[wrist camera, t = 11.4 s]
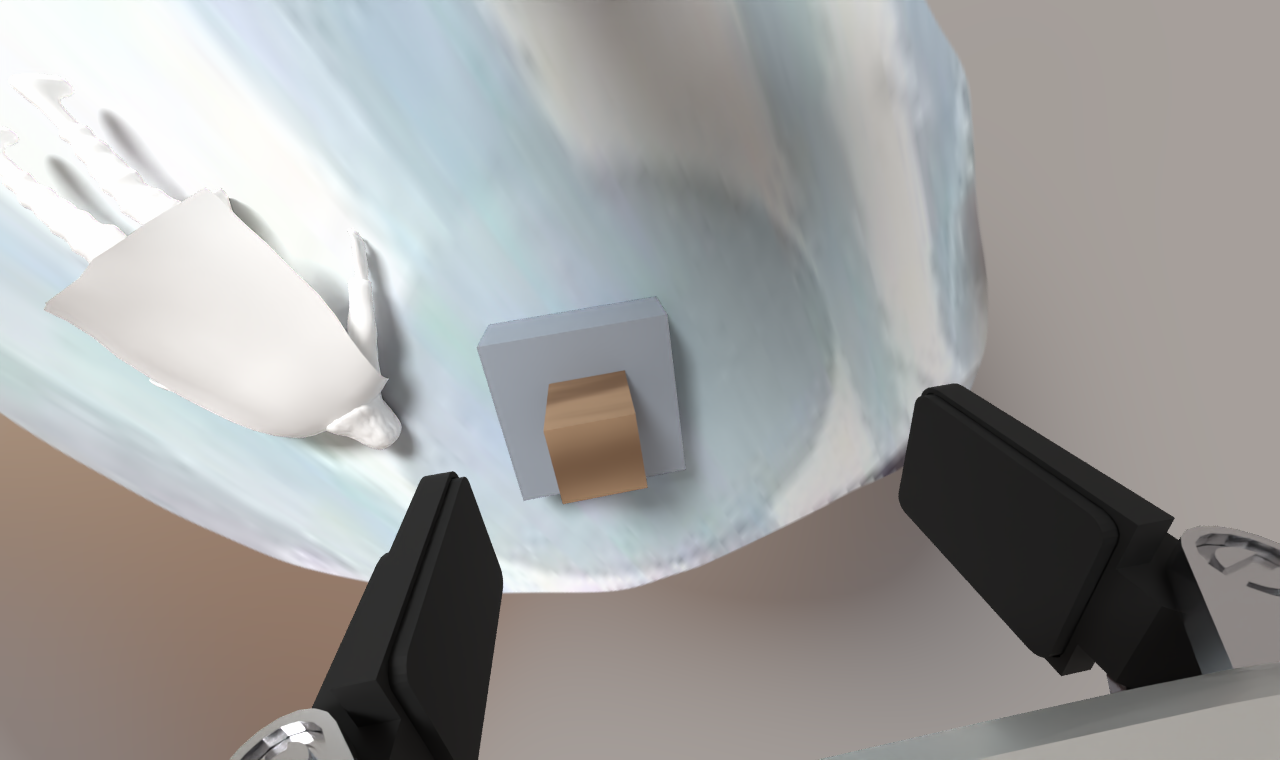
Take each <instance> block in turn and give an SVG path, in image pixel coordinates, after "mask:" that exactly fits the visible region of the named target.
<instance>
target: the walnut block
mask: <svg viewBox="0 0 1280 760" xmlns="http://www.w3.org/2000/svg"><path fill="white" fill-rule="evenodd" d="M543 431H544V435H545V439H546V443H547V446H548V450H549V454H550V458H551V461H552V465H553V469H554V473H555V476H556V480H557V484H558V488H559V491H560V495H561V499H562V503H563V504H566V503H571V502H576V501H582V500H587V499H592V498H597V497H602V496H607V495H612V494H617V493H623V492H628V491H633V490H638V489H643V488H648V487H647V481H646V475H645V469H644V463H643V457H642V451H641V445H640V439H639V433H638V427H637V421H636V415H635V410H634V406H633V402H632V398H631V394H630V390H629V386H628V382H627V378H626V374H625V370H623V371H618V372H612V373H607V374H601V375H596V376H590V377H585V378H579V379H574V380H568V381H562V382H557V383H551V384H549V387H548V396H547V404H546V413H545V421H544V430H543Z"/></svg>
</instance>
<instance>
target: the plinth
mask: <svg viewBox="0 0 1280 760" xmlns="http://www.w3.org/2000/svg"><path fill="white" fill-rule="evenodd" d="M477 350H478V353H479V357H480V360H481V363H482V366H483V370H484V373H485V376H486V379H487V383H488V386H489V389H490V393H491V396H492V399H493V402H494V406H495V409H496V412H497V415H498V419H499V422H500V425H501V428H502V432H503V435H504V438H505V441H506V445H507V448H508V451H509V454H510V458H511V461H512V464H513V467H514V471H515V474H516V477H517V481H518V484H519V487H520V490H521V494H522V497H523V500H524V501H525V500H530V499H535V498H540V497H546V496H551V495H556V494H560V491H559V488H558V484H557V480H556V476H555V473H554V469H553V465H552V461H551V458H550V454H549V450H548V446H547V443H546V439H545V435H544V431H543V430H544V421H545V413H546V404H547V396H548V387H549V384H551V383H557V382H562V381H568V380H574V379H579V378H585V377H590V376H596V375H601V374H607V373H612V372H618V371H623V370H625V374H626V378H627V382H628V386H629V390H630V394H631V398H632V402H633V406H634V410H635V415H636V421H637V427H638V433H639V439H640V445H641V451H642V457H643V463H644V469H645V475H646V477H650V476H655V475H660V474H665V473H671V472H676V471H681V470H686V468H685V459H684V451H683V442H682V434H681V425H680V416H679V408H678V399H677V391H676V382H675V374H674V365H673V357H672V348H671V340H670V331H669V323H668V314H667V313H666V311H665V310H664V308H663V306H662V305H661V303H660V302H659V300H658V299H657V297H656V296H655V297H649V298H643V299H637V300H632V301H626V302H620V303H614V304H608V305H602V306H596V307H590V308H584V309H578V310H573V311H567V312H561V313H555V314H549V315H543V316H537V317H531V318H525V319H520V320H514V321H508V322H502V323H496V324H490V325H489V326H488V327H487V329H486V331H485V333H484V335H483V337H482V338H481V340H480V342H479V344H478V346H477Z"/></svg>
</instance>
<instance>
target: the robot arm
mask: <svg viewBox="0 0 1280 760" xmlns="http://www.w3.org/2000/svg"><path fill="white" fill-rule="evenodd" d="M899 502H900V505H901V507H902V509H903V510H904V512H905V513H906V514H907V515H908V516H909V517H910V518H911V519H912V521H913V522H914V523H915V524H916V525H917V526H918V527H919V528H920V529H921V531H922V532H923V533H924V534H925V535H926V536H927V537H928V538H929V539H930V540H931V541H932V542H933V543H934V545H935V546H936V547H937V548H938V549H939V550H940V551H941V553H942V554H943V555H944V556H945V557H946V558H947V559H948V560H949V561H950V562H951V564H953V566H954V567H955V568H956V569H957V570H958V571H959V572H960V573H961V575H962V576H963V577H964V578H965V579H966V580H967V581H968V582H969V583H970V584H971V586H972V587H973V588H974V589H975V590H976V591H977V592H978V593H979V594H980V596H982V598H983V599H984V600H985V601H986V602H987V603H988V604H989V605H990V606H991V608H992V609H993V610H994V611H995V612H996V613H997V614H998V615H999V616H1000V618H1001V619H1002V620H1003V621H1004V622H1005V623H1006V624H1007V625H1008V626H1009V628H1010V629H1011V630H1012V631H1013V632H1014V633H1015V634H1016V635H1017V636H1018V637H1019V638H1020V640H1022V642H1023V643H1024V644H1025V645H1026V646H1027V647H1028V648H1029V649H1030V650H1031V651H1032V652H1033V653H1034V654H1036V655H1038V656H1040V657H1043V658H1045V659H1046V660H1047V661H1048V662H1049V663H1050V664H1051V666H1052V667H1053V668H1054V669H1055V670H1056V671H1057V672H1058V673H1059V674H1060V675H1061V676H1064V675H1068V674H1073V673H1077V672H1082V671H1086V670H1091V668H1092V666H1093V664H1094V663H1095V662H1096V663H1097V664H1098V665H1099V666H1100V667H1101V668H1102V669H1103V670H1104V671H1105V672H1106V673H1107V679H1108V684H1109V689H1110V694H1108V695H1104V696H1099V697H1095V698H1090V699H1086V700H1081V701H1077V702H1072V703H1068V704H1063V705H1059V706H1054V707H1050V708H1045V709H1040V710H1036V711H1032V712H1027V713H1022V714H1018V715H1013V716H1009V717H1004V718H1000V719H995V720H991V721H986V722H982V723H977V724H973V725H969V726H964V727H960V728H955V729H951V730H946V731H942V732H938V733H933V734H929V735H924V736H920V737H916V738H911V739H907V740H902V741H898V742H894V743H889V744H885V745H880V746H876V747H872V748H867V749H863V750H858V751H854V752H850V753H845V754H842V755H837V756H832V757H828V758H824V759H819V760H1280V544H1279V543H1277V542H1274V541H1272V540H1269V539H1267V538H1264V537H1262V536H1259V535H1255V534H1252V533H1248V532H1245V531H1241V530H1238V529H1232V528H1225V527H1219V526H1197V527H1194V528H1191V529H1187V530H1186V531H1185V532H1184V533H1183V535H1182V536H1181V537H1180V539H1179V540H1178V539H1176V538H1174V537H1173V536H1171V535H1170V534H1168V533H1167V531H1168V529H1169V527H1170V526H1171V524H1172V522H1173V520H1174V517H1173V516H1171V515H1169V514H1168V513H1166V512H1164V511H1163V510H1161V509H1160V508H1158V507H1156V506H1155V505H1153V504H1152V503H1150V502H1148V501H1147V500H1145V499H1144V498H1142V497H1140V496H1139V495H1137V494H1135V493H1134V492H1132V491H1131V490H1129V489H1127V488H1126V487H1124V486H1123V485H1121V484H1119V483H1118V482H1116V481H1115V480H1113V479H1111V478H1110V477H1108V476H1106V475H1105V474H1103V473H1102V472H1100V471H1098V470H1097V469H1095V468H1094V467H1092V466H1090V465H1089V464H1087V463H1086V462H1084V461H1082V460H1081V459H1079V458H1078V457H1076V456H1074V455H1073V454H1071V453H1069V452H1068V451H1066V450H1065V449H1063V448H1061V447H1060V446H1058V445H1057V444H1055V443H1053V442H1052V441H1050V440H1049V439H1047V438H1045V437H1044V436H1042V435H1040V434H1039V433H1037V432H1036V431H1034V430H1032V429H1031V428H1029V427H1028V426H1026V425H1024V424H1023V423H1021V422H1020V421H1018V420H1016V419H1015V418H1013V417H1012V416H1010V415H1008V414H1007V413H1005V412H1004V411H1002V410H1000V409H999V408H997V407H995V406H994V405H992V404H991V403H989V402H987V401H986V400H984V399H983V398H981V397H979V396H978V395H976V394H974V393H973V392H971V391H970V390H968V389H966V388H965V387H963V386H961V385H959V384H948V385H942V386H936V387H931V388H927V389H925V390H924V391H923V393H922V395H921V396H920V397H918V398H917V400H916V402H915V406H914V412H913V417H912V423H911V428H910V434H909V439H908V445H907V450H906V456H905V461H904V467H903V473H902V478H901V483H900V489H899ZM502 591H503V576H502V571H501V568H500V565H499V563H498V560H497V557H496V554H495V552H494V549H493V546H492V543H491V541H490V538H489V535H488V533H487V530H486V527H485V524H484V522H483V519H482V516H481V513H480V511H479V508H478V505H477V502H476V500H475V497H474V494H473V491H472V489H471V486H470V483H469V481H468V479H467V478H466V477H461V478H459V477H458V475H457V474H456V473H455V472H453V471H452V472H447V473H441V474H435V475H430V476H425V477H423V478H422V479H421V481H420V483H419V485H418V487H417V490H416V492H415V494H414V496H413V499H412V501H411V503H410V506H409V508H408V510H407V512H406V515H405V517H404V519H403V522H402V524H401V526H400V529H399V531H398V533H397V535H396V538H395V540H394V542H393V545H392V547H391V549H390V551H389V553H386V554H385V555H383V556H382V557H381V558H380V560H379V562H378V563H377V565H376V567H375V569H374V572H373V574H372V576H371V578H370V580H369V583H368V585H367V587H366V589H365V592H364V594H363V596H362V598H361V600H360V603H359V605H358V607H357V609H356V611H355V614H354V616H353V618H352V620H351V622H350V625H349V627H348V629H347V631H346V634H345V636H344V638H343V640H342V643H341V644H340V647H339V649H338V651H337V653H336V656H335V658H334V660H333V662H332V664H331V667H330V669H329V671H328V673H327V675H326V678H325V680H324V682H323V684H322V686H321V689H320V691H319V693H318V695H317V698H316V700H315V702H314V704H313V706H312V709H305V710H298V711H295V712H293V713H290V714H288V715H285V716H283V717H280V718H278V719H277V720H275V721H274V722H272V723H271V724H269V725H267V726H266V727H264V728H263V729H261V730H260V731H258V732H257V733H256V734H255V735H254V736H253V737H252V738H250V739H249V740H248V741H247V742H246V743H245V744H243V745H242V746H241V747H240V748H239V749H238V750H237V752H236V753H235V754H234V755H233V756H232V757H231V758H230V760H478V756H479V749H480V742H481V735H482V728H483V722H484V715H485V708H486V701H487V694H488V686H489V680H490V674H491V667H492V660H493V653H494V645H495V639H496V633H497V632H496V631H497V626H498V619H499V612H500V605H501V598H502Z"/></svg>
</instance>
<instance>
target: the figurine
mask: <svg viewBox="0 0 1280 760" xmlns="http://www.w3.org/2000/svg"><path fill="white" fill-rule="evenodd" d="M8 82H9V84H10V85H11V86H12V87H13V89H15V90H16V91H17V92H18V93H19V94H21V95H22V96H23V97H24V98H25V99H26V100H28V101H29V102H30V103H32V104H33V105H34V106H36V107H37V108H38V109H39V110H40V111H41V112H43V113H44V114H45V115H46V116H47V117H48V118H49V119H50V120H51V121H52V122H53V123H54V124H55V125H56V126H57V127H58V129H59V130H60V132H59V136H60V138H61V139H63V140H64V141H66V142H67V143H69V144H70V145H71V146H72V147H73V148H74V152H75V155H76V156H77V158H78V159H79V160H80V161H82V162H83V163H85V164H86V165H87V168H88V172H89V174H90V175H91V177H93V178H94V179H95V180H96V181H98V182H99V183H100V188H101V189H102V191H103V192H104V193H106V194H108V195H110V196H112V197H113V198H114V199H115V200H116V201H117V202H118V203H119V206H120V210H121V212H122V213H123V214H125V215H127V216H128V217H130V218H132V219H133V220H135V221H136V222H138V223H140V224H141V225H142V226H141V227H140V228H138V229H137V230H136V231H134V232H133V233H131V234H130V235H128V236H127V235H126V234H125V233H123V232H122V231H121V230H120V229H119V228H118V227H117V226H115V225H111V224H101V223H100V222H98V221H96V220H95V219H94V217H93V216H92V215H91V214H90V213H89V212H87V211H84V210H80V209H78V208H77V207H76V206H75V205H74V204H73V203H71V202H70V201H67V200H65V199H62V198H61V197H59V196H58V194H57V193H56V191H54V190H53V189H52V188H49V187H46V186H43V185H41V184H40V183H38V182H37V181H36V179H35V178H34V177H33V176H32V174H30V173H28V172H25V171H23V170H22V169H21V168H20V167H19V166H17V165H16V164H15V163H14V162H13V161H12V160H11V159H10V158H9V157H8V156H7V155H6V154H5V151H4V150H5V148H6V147H7V146H11V145H14V144H16V143H18V142H19V138H18V136H17V134H16V133H15V132H14V131H12V130H11V129H9V128H7V127H3V126H0V175H1V176H2V177H3V182H2V184H3V185H4V186H6V187H7V188H8V189H9V190H11V191H12V192H14V193H15V194H16V195H17V198H18V201H19V203H20V204H21V205H22V206H23V207H25V208H27V209H30V210H32V211H33V212H34V214H35V215H36V216H37V218H38V219H40V220H41V221H42V222H43V223H44V224H45V225H47V226H48V227H49V229H50V231H51V232H52V233H53V234H55V235H56V236H58V237H60V238H62V239H64V240H65V241H66V242H67V243H68V244H69V245H70V247H71V250H72V251H73V252H75V253H76V254H78V255H80V256H82V257H84V258H85V259H86V260H87V261H88V262H89V265H88V267H87V268H86V269H85V271H84V272H83V274H82V275H81V276H80V278H79V279H77V280H76V281H75V282H73V283H72V284H71V285H69V286H68V287H67V288H65V289H64V290H63V291H61V292H60V293H59V294H57V295H56V296H54V297H53V298H52V299H50V300H49V301H48V302H46V306H45V308H44V310H45V311H47V312H49V313H51V314H53V315H55V316H57V317H59V318H62V319H64V320H66V321H68V322H69V323H71V324H73V325H74V326H76V327H77V328H79V329H80V330H82V331H84V332H85V333H87V334H88V335H90V336H92V337H93V338H94V339H95V340H97V341H98V342H99V343H100V344H102V345H103V346H104V347H105V348H107V349H108V350H109V351H110V352H111V353H113V354H114V355H115V356H116V357H118V358H119V359H121V360H122V361H124V362H126V363H127V364H129V365H130V366H132V367H133V368H135V369H137V370H138V371H140V372H141V373H143V374H144V375H146V376H148V377H149V378H151V379H150V380H149V381H150V382H151V383H153V384H154V385H156V386H158V387H161V388H163V389H165V390H169V391H172V392H174V393H176V394H178V395H179V396H181V397H183V398H185V399H187V400H189V401H191V402H193V403H195V404H196V405H198V406H200V407H202V408H204V409H206V410H208V411H210V412H212V413H214V414H216V415H219V416H221V417H223V418H225V419H227V420H229V421H231V422H234V423H236V424H239V425H241V426H244V427H247V428H249V429H252V430H254V431H258V432H262V433H266V434H270V435H274V436H281V437H291V438H305V437H309V436H314V435H317V434H319V433H322V432H325V431H329V432H330V433H333V434H336V435H342V436H347V437H350V438H352V439H355V440H357V441H359V442H361V443H362V444H364V445H367V446H369V447H371V448H374V449H378V450H383V449H386V448H387V447H388V446H390V445H392V444H393V443H394V442H395V441H396V440H397V439H398V437H399V435H400V433H401V429H402V425H401V423H400V420H399V419H398V418H397V416H396V415H395V414H394V413H393V411H392V410H391V408H390V407H389V406H388V405H387V404H386V402H385V401H384V400H383V399H382V396H381V390H382V389H383V388H384V386H385V384H386V383H387V381H388V379H389V378H385V377H383V376H382V375H381V372H380V366H379V362H378V350H377V337H378V335H377V328H376V322H375V314H374V307H373V299H372V283H371V282H370V281H369V278H368V262H367V257H366V249H365V244H364V241H363V239H362V237H361V236H360V235H359V234H358V233H357V232H356V231H355V230H354V228H351V229H348V232H349V234H350V236H351V237H352V251H353V256H354V264H355V276H356V278H351V279H350V281H349V282H348V290H349V299H350V301H349V314H348V322H347V329H348V334H347V332H346V331H345V329H344V327H343V326H342V324H341V323H340V321H339V320H338V318H337V316H336V315H335V314H334V313H333V311H332V310H331V309H330V308H329V306H328V305H327V304H326V303H325V301H324V300H323V299H322V298H321V296H320V295H319V294H318V293H317V292H316V291H315V290H314V289H313V288H312V287H311V286H310V285H309V284H308V283H307V282H305V281H304V280H303V279H302V278H301V277H300V276H299V275H298V274H297V273H296V272H295V271H294V270H293V269H292V268H291V267H290V266H289V265H288V264H287V263H286V262H285V261H284V260H283V259H282V258H281V257H280V256H279V255H278V254H277V253H276V252H275V251H274V250H273V249H272V248H271V247H270V246H269V245H268V244H267V243H266V242H265V241H264V240H263V239H262V238H261V237H259V236H258V235H257V234H256V233H255V232H254V231H253V230H252V229H250V228H249V227H248V226H247V225H246V224H245V223H244V222H243V221H241V219H240V218H239V217H238V216H237V215H236V214H235V213H234V212H233V210H232V207H231V204H230V200H229V197H228V196H227V194H226V193H225V191H224V190H223V189H222V188H221V189H217V190H215V191H213V192H211V191H210V190H209V189H207V188H206V187H205V188H203V189H202V190H200V191H198V192H197V193H195V194H194V195H192V196H190V197H189V198H187V199H185V200H184V201H182V202H181V201H179V200H176V199H174V198H171V197H170V196H169V195H167V194H166V193H165V192H163V191H162V190H160V189H157V188H152V187H150V186H149V185H147V184H146V183H145V182H144V180H143V179H142V177H141V176H140V174H139V173H138V172H137V171H135V170H133V169H131V168H130V167H129V166H128V165H127V163H126V162H125V161H124V160H123V159H122V158H121V157H119V156H118V155H117V154H116V153H115V152H114V151H113V150H112V149H111V148H110V147H109V146H108V145H107V144H106V143H105V142H103V141H101V140H99V139H98V138H97V137H96V136H95V135H94V133H93V131H92V130H91V129H90V128H89V127H88V126H85V125H80V124H79V123H78V122H77V121H76V120H75V119H74V118H73V117H72V116H71V115H70V114H69V112H68V111H67V110H66V109H65V108H64V107H63V105H62V104H61V99H63V98H67V97H70V96H72V95H74V89H73V87H72V85H71V84H70V83H69V82H68V81H66V80H65V79H64V78H62V77H58V76H53V75H44V74H32V73H28V74H17V75H13V76H11V77H10V79H9V80H8ZM152 379H153V380H152ZM155 381H156V382H157V383H156V382H155Z"/></svg>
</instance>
